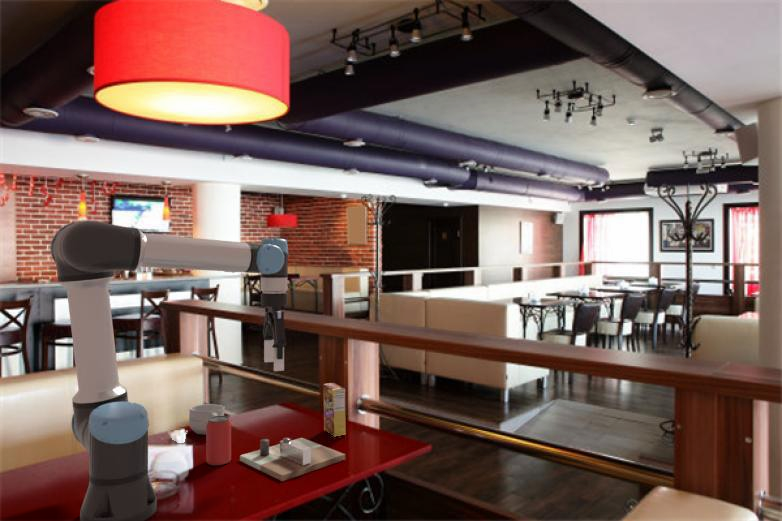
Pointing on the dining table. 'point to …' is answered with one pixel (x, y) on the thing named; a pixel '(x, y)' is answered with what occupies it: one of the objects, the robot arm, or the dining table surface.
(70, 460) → the dining table surface
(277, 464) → the board
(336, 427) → the candy box
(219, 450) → the beer can
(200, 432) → the teacup
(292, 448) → the bar
